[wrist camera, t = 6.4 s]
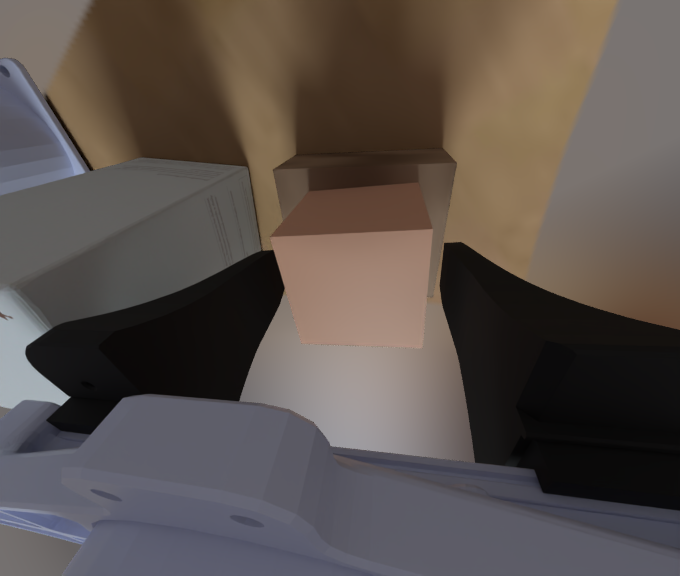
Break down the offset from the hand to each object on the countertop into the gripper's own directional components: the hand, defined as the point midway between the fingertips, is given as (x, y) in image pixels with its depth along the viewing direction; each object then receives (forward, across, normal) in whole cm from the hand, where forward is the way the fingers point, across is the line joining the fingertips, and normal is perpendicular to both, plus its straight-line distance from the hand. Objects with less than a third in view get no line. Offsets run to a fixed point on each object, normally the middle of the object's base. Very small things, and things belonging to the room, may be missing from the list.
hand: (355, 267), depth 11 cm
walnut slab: (+7, 0, 0) cm, 7 cm away
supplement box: (+7, +11, 0) cm, 13 cm away
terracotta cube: (+3, 0, 0) cm, 3 cm away
